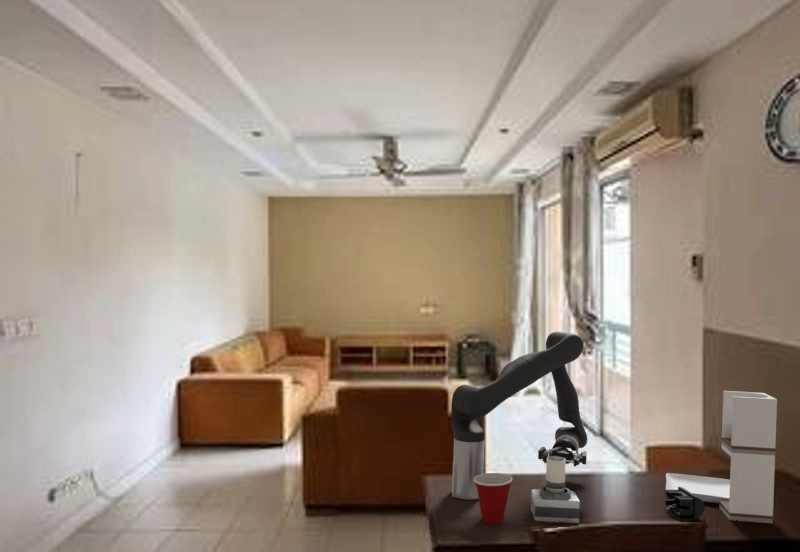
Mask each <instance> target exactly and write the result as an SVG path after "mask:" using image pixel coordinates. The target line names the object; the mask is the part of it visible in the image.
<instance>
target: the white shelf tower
mask: <svg viewBox="0 0 800 552" xmlns="http://www.w3.org/2000/svg"><path fill="white" fill-rule="evenodd" d="M722 392H723V393H722V396H723V397H722V399H723V400H722V417H721V418H722V419H721V421H722V422H721V423H722V425H721V426H722V427H721V444H720V445H721V449H722V451H724V452H725V453H726V454H727V455H728V456H729V457H730V468H729V469H730V475H729V476H730V477H729V480H730V497H729V502H727V501H719V503H718V505H719V507H718V508H719V510H720V511H721V512H722V513H723V514H724V515H725V517H726V518H727V519H728V520H729V521H736V520H737V522H751V523H760V524H761V523H762V524H764V523H765V524H773V523H774V522H773V521H774V495H775V494H774V493H775V491H774V490H775V467H776V444H777V440H776V439H777V417H778V416H777V415H778V414H777V412H778V411H777V409H778V399H777V398H775V397H773V396H771V395H770V394H767V393H766V392H754V391H753V392H752V391H750V392H749V391H736V390H734V391H732V390H723V391H722Z"/></svg>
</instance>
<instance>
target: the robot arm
mask: <svg viewBox="0 0 800 552" xmlns="http://www.w3.org/2000/svg"><path fill="white" fill-rule="evenodd" d="M583 351H584V341H583V339H582V337H580V336H579V335H578V334H576V333H575V334H574V333H572V332H563V331H562V332H561V331H553V332H551V333H550V334H549V335H548V336H547V338H546V341H545V349H544V350H538V351H535V352H532V353H531V352H530V353H527V354H524V355H520V356H519V357H517V358H515V359H514V360H512V361H510V362H509V363H507V364H506V365H505V366H503V368H502V370H501V371H500V373H499V375H498V377H497V378H496V379H495V380H494V381H492V382H491V383H489V384H487V385H484V386H482V387H476V386H472V385H468V384H461V385H459V386H457V387H456V389H454V392H453V394H452V397H451V405H450V406H451V408H450V409H451V428H452V431H453V458H452V459H453V461H452V483H451V485H452V486H451V487H452V488H451V495H452V496H451V497H452V498H457V499H461V500H479V498H478V491H477V487H476V484H475V482H474V481H473V479H474V477H475V476H477V475H481V474H484V468H485V467H484V466H485V463H484V462H485V459H484V458H485V431H484V429H483V428H482V426H481V425H480V424H479V423H478V421H477V419H482V418H484V417H485V416H487V415H488V414H490V413H491V412H492V411H493V410H495V409H496V408H497V407H498V406H500V405H501V404H502V403H503V402H505V401H506V400H508V399H509V398H511V397H513V396H514V395H516V394H517V393H519V392H521V391H522V390H524V389H526V388H527V387H529V386H531V385H532V384H534V383H536V381H539V380H540V379H542V378H543V377H545V376H548V374H550V373H551V376H552V381H553V383H554V384H553V385H554V388H555V396H556V401H557V402H556V403H557V414H558V419H559V420H560V421H562V422H564V423H565V422H566V423H569V424H571V425H572V426H561V427H558V428H557V429H556V430H555V434H554V440H555V442H554V444H553V446H552V448H549V449H547V448H546V446H541V447H540V448H539V449H538V451H537V452H538V453H537V459H538V460H541V461H542V462H544V464H547V457H549V456H559V457H563V458H565V459H566V464H565V465H568V464H573V467H576V468H577V466H580V464H582V465H587V457H588V455H587V451H586V450H585V451H584V450H583V451H581V452H580V453H579V449H583V448H585V446H587V445H588V444H587V443H588V435H587V431H586V429H585V427H584V425H583V422H582V419H581V414H580V403H579V396H578V393H577V389H576V388H575V386H574V384H573V381H572V380H571V378H570V376H569V373H568V371H567V367H566V366H567V365H568V364H570V363H572V362H574V361H575V360H577V359H579V357H580V356H581V354H582V353H583Z"/></svg>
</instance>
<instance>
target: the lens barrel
mask: <svg viewBox="0 0 800 552" xmlns="http://www.w3.org/2000/svg"><path fill="white" fill-rule="evenodd" d="M566 465H567V464H566V459H565V458H563V457H559V456H549V455H548V457H547V463H546V470H545V471H546V473H545V486H546V492H549V493H555V494H562V493H564V491H565V487H566Z"/></svg>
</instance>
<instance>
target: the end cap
mask: <svg viewBox="0 0 800 552" xmlns="http://www.w3.org/2000/svg"><path fill="white" fill-rule="evenodd" d="M665 496H666V497H669V496H672V497H674V496H675V497H674V498H673V499H665V501H664V503H665V507H666V508H665V511H666V512H667V513H669V514H670V515H672V516H673V517H675V518H676V519H677V520H679V521H681V520H693V521H696V520H697V519H699V518H701V517H702V516H703V515H704V513H705V509H706V506H705V502H704V501H702V500H701V499H700V498H698V497H697V496H695V495H693V494H692V493H690V492H689V491H687V490H685V489H684V488H682V487H678V490H666V489H665Z"/></svg>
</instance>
